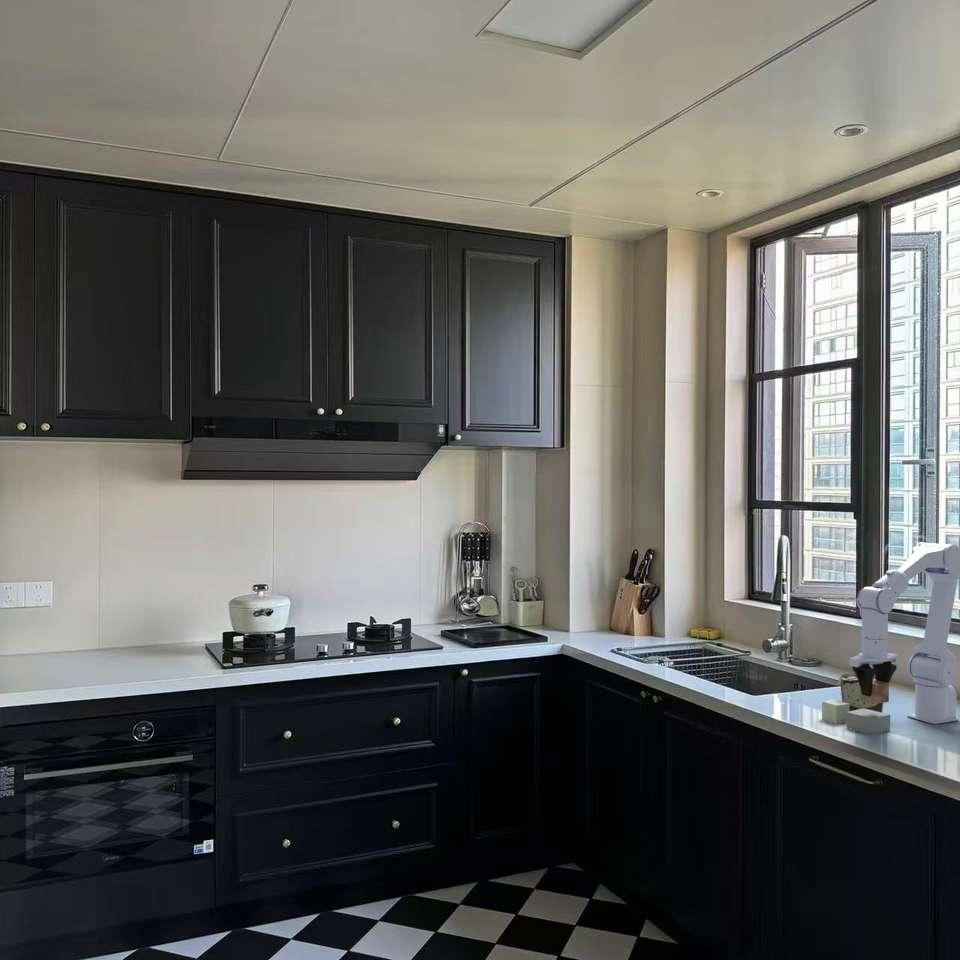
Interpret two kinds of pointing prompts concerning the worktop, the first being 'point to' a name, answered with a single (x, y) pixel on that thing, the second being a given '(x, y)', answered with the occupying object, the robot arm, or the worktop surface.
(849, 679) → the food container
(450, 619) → the worktop surface
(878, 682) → the walnut cube
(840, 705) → the sage cube
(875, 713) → the slate block
